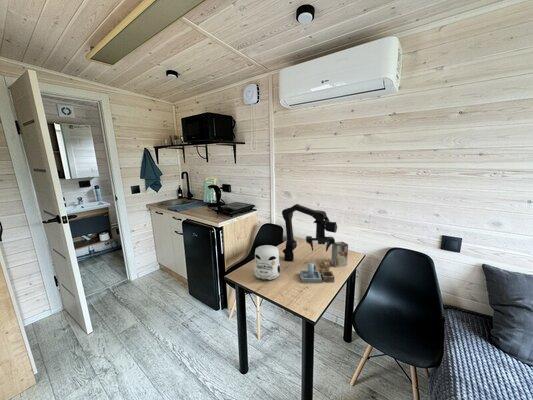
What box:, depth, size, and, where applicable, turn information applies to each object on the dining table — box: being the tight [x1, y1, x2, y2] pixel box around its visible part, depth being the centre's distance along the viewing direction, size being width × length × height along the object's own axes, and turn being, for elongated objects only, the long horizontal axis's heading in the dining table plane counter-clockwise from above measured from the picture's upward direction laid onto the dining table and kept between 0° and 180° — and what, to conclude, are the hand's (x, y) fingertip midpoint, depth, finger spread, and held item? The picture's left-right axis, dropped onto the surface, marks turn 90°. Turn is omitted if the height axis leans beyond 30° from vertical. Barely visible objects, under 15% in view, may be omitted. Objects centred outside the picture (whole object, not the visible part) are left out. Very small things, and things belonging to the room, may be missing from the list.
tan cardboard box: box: [314, 263, 325, 274], centre depth 149 cm, size 6×9×2 cm, turn 172°
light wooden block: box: [323, 261, 331, 271], centre depth 149 cm, size 3×4×5 cm
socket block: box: [320, 270, 335, 283], centre depth 138 cm, size 7×7×4 cm
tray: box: [299, 269, 323, 284], centre depth 139 cm, size 12×10×2 cm
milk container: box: [253, 244, 281, 281], centre depth 141 cm, size 17×17×18 cm
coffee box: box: [331, 241, 349, 268], centre depth 155 cm, size 9×6×16 cm
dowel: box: [307, 262, 315, 278], centre depth 138 cm, size 4×4×9 cm
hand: (319, 251), depth 149 cm, fingers open, 9 cm apart
